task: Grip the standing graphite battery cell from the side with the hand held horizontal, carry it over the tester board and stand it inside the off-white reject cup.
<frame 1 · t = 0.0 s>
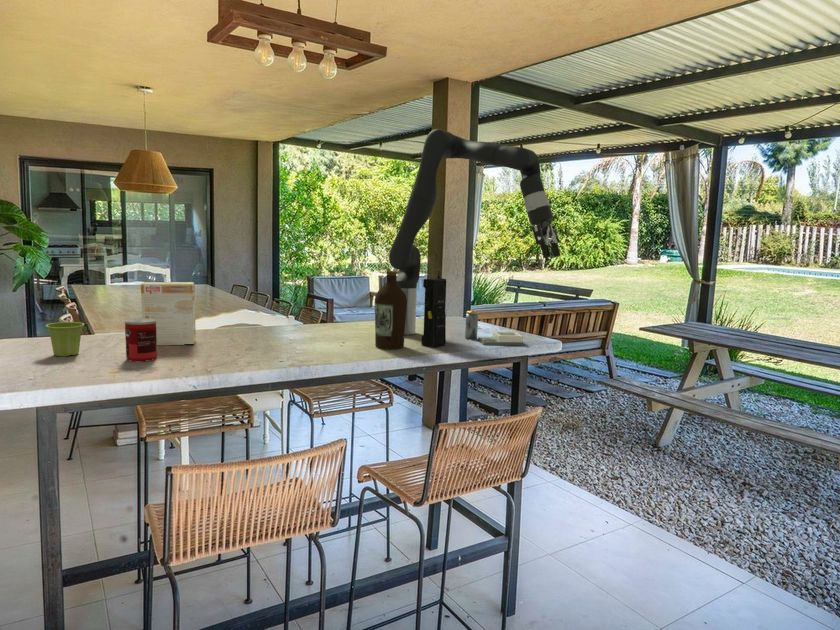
hand: (552, 256, 187), 31 cm above the table, tool tilted 20°, fingers open, 8 cm apart
tester board: (500, 342, 209), on the table
coffeecake box: (170, 344, 188), on the table
plant pot: (66, 355, 168), on the table
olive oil: (389, 347, 195), on the table
cell: (471, 338, 215), on the table
portable radio: (432, 346, 200), on the table
canned food: (141, 359, 166), on the table
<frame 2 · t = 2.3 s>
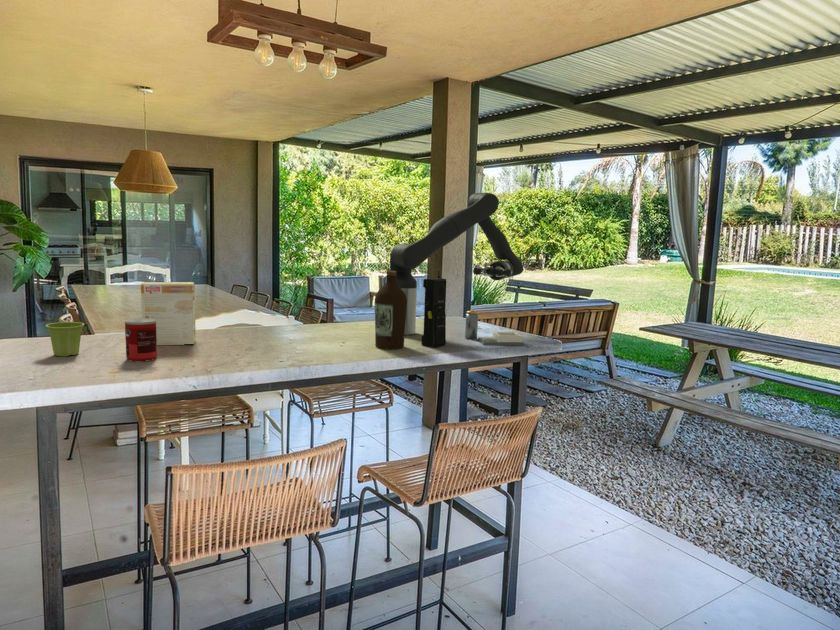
hand: (487, 272, 221), 24 cm above the table, tool horizontal, fingers open, 8 cm apart
nothing on the table moved.
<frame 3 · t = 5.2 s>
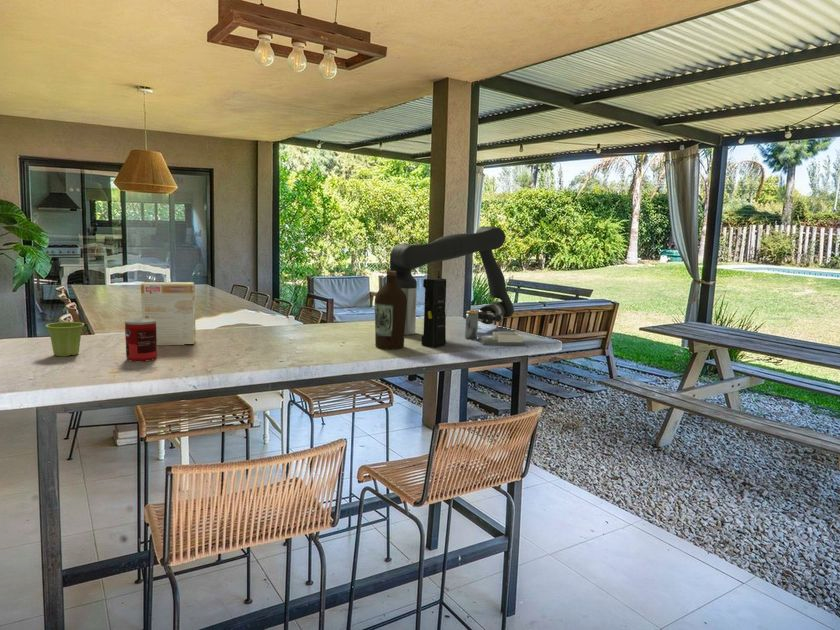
hand: (477, 318, 221), 6 cm above the table, tool horizontal, fingers open, 8 cm apart
nothing on the table moved.
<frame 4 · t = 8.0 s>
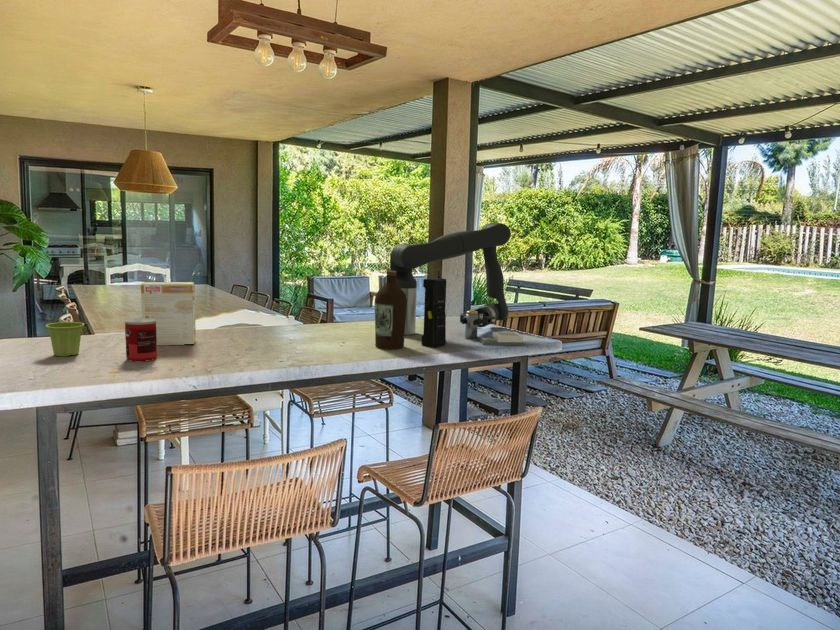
hand: (469, 321, 212), 7 cm above the table, tool horizontal, fingers closed on cell, 4 cm apart
cell: (471, 338, 215), on the table, touching gripper
everything else where it was.
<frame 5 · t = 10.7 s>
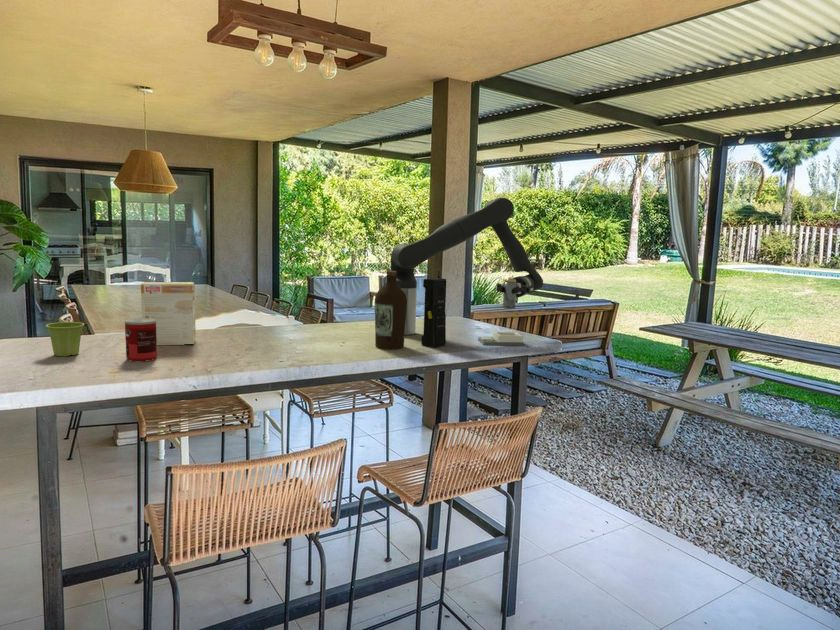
hand: (508, 290, 204), 19 cm above the table, tool horizontal, fingers closed on cell, 4 cm apart
cell: (509, 307, 208), point 12 cm above the table, touching gripper
everything else where it was.
when the fingers open (8 cm above the table, at t = 13.7 s): cell stays where it is, resting on tester board.
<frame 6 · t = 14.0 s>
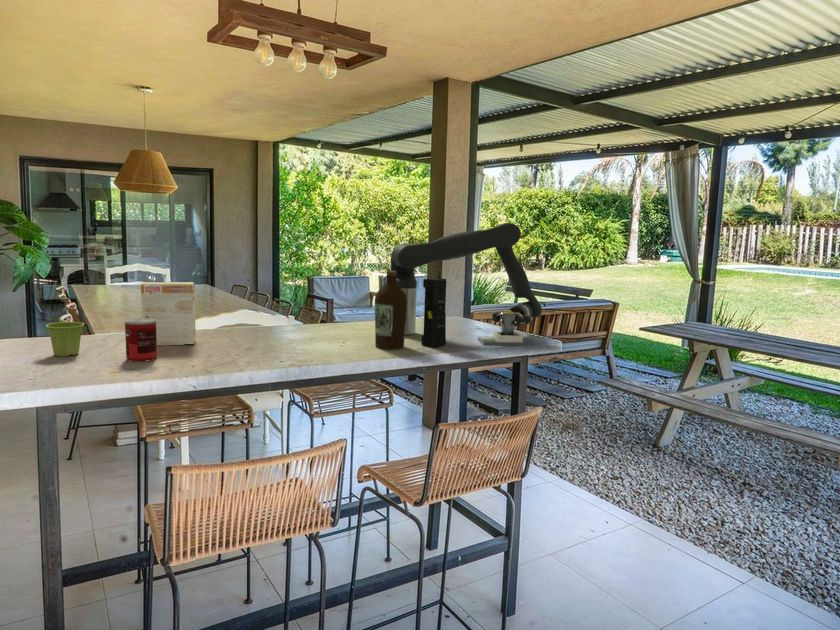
hand: (506, 320, 206), 8 cm above the table, tool horizontal, fingers open, 7 cm apart
cell: (507, 339, 209), point 1 cm above the table, touching tester board
everything else where it was.
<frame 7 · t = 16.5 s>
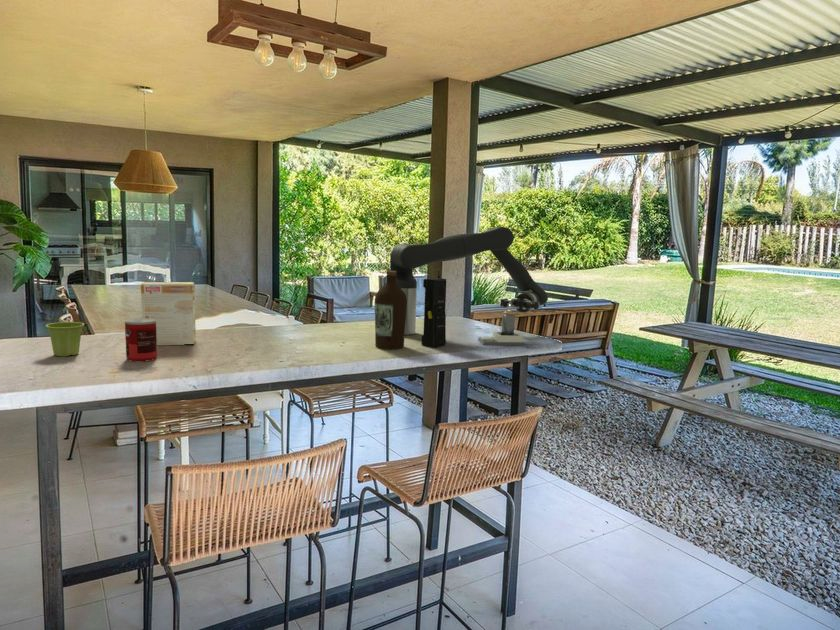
hand: (515, 305, 218), 12 cm above the table, tool horizontal, fingers open, 8 cm apart
nothing on the table moved.
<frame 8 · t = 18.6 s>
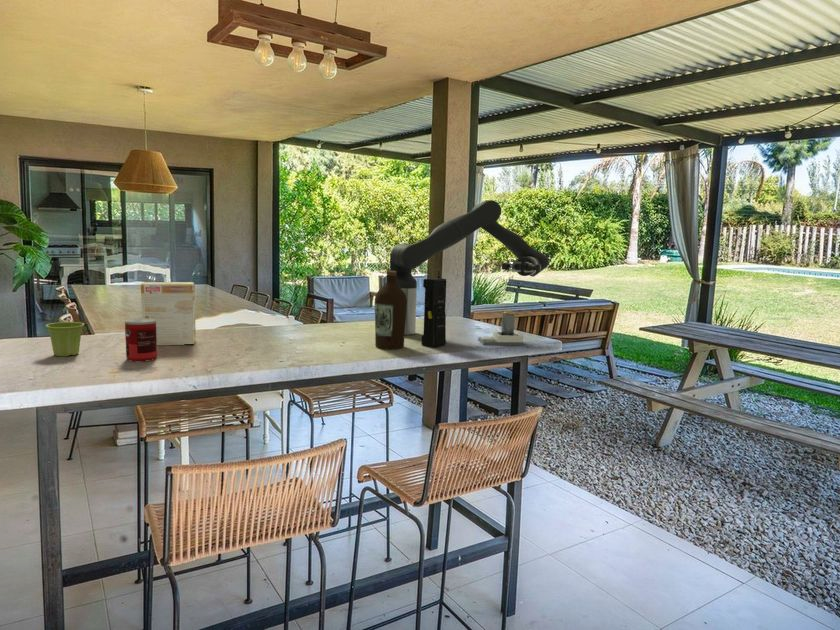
hand: (517, 267, 218), 26 cm above the table, tool horizontal, fingers open, 8 cm apart
nothing on the table moved.
at the end: cell 0.1 cm from the target spot on the tester board, point 1.1 cm above the tester board's base; cell tilted 1°; the gripper is holding nothing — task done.
